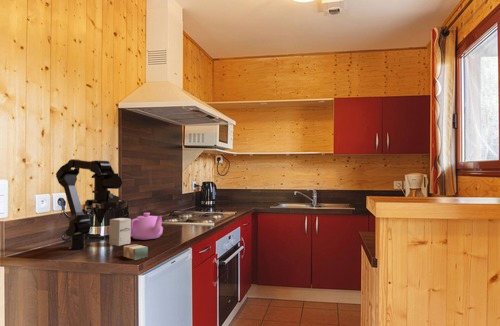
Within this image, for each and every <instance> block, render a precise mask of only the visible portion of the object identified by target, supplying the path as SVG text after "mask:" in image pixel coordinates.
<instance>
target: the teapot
mask: <svg viewBox="0 0 500 326" xmlns="http://www.w3.org/2000/svg"><path fill="white" fill-rule="evenodd" d="M150 214H151V212H143V215H138V216H137V217H136V218H132V219H131V236H130V237H131V238H132V239H134V240H142V241H148V240H154V239H158V238H160V237H161V236H162V234H163V231H164V227H163V226H162V224H163V219H162V217H163V215H150Z"/></svg>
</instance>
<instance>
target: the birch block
mask: <svg viewBox="0 0 500 326" xmlns="http://www.w3.org/2000/svg"><path fill="white" fill-rule="evenodd" d="M148 253H149V247H148V246H144V245H140V244H137V243H135V244H127V245H123V257H124V258H127V259H131V260H134V261H136V260H142V259H145V257H147V258H148V256H149V254H148ZM141 258H142V259H141Z"/></svg>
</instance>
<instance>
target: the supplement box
mask: <svg viewBox="0 0 500 326" xmlns="http://www.w3.org/2000/svg"><path fill="white" fill-rule="evenodd" d="M131 220H132V219H131V218H127V217H119V218H110V219H109V235H108V236H109V238H108V239H109V241H108V242H109V245H112V246H117V247H121V246H126V245H131V237H132V236H131Z"/></svg>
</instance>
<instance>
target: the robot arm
mask: <svg viewBox="0 0 500 326" xmlns="http://www.w3.org/2000/svg"><path fill="white" fill-rule="evenodd" d="M80 169H82V170H89V171H90V172H92V173H94V174H92V176H91V179H94V183H93V186H94V190H92V193H93V198H92V199H86V200H85V201H84V207H90V206H92V207H90V209H91V210H92V211H93V214H94V216H95V217H96V219H97V221H98V224H103V221H104V218H105V216H106V213H107V211H108V210H110V209H117V208H118V204H119V203H120V200H121V197H120V196H118V195H116V194H114V193H111V190H110V189H113V190H118V189H120V188H121V187H122V185H123V180H122V178H121V177H120V176H119V173H116V172H115V171H114V169H113V167H112V165H111V163H110V161H109V160H97V159H96V160H91V161H90V160H82V159H75V158H74V159H69V160H68V161H67V162H66V163H65V164H64V165H61V166H60V167H59V168H58V170H57V171H56V172H55V177H56V180H57V182H58V184H59V185H60V186H61V187H62V188H63V190H64V193H65V196H66V200H67V201H66V202H67V205H68V207H69V208H68V209H69V211H70V215H71V216H70V218H69V226H68V228H67V229H66V230H65V235H66V237H70V247H68V250H83V249H85V248H86V247H87V245H85V235H89V233H90V230H91V225H92V224H91V222H92V220H91V219H90V215H89V214H88V213H87V214H85V213H84V211H83V209H82V205H81V202H80V201H81V200H80V197H79V194H78V191H77V188H76V184H77V180H78V177H77V176H78V175H79V174H80Z"/></svg>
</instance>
